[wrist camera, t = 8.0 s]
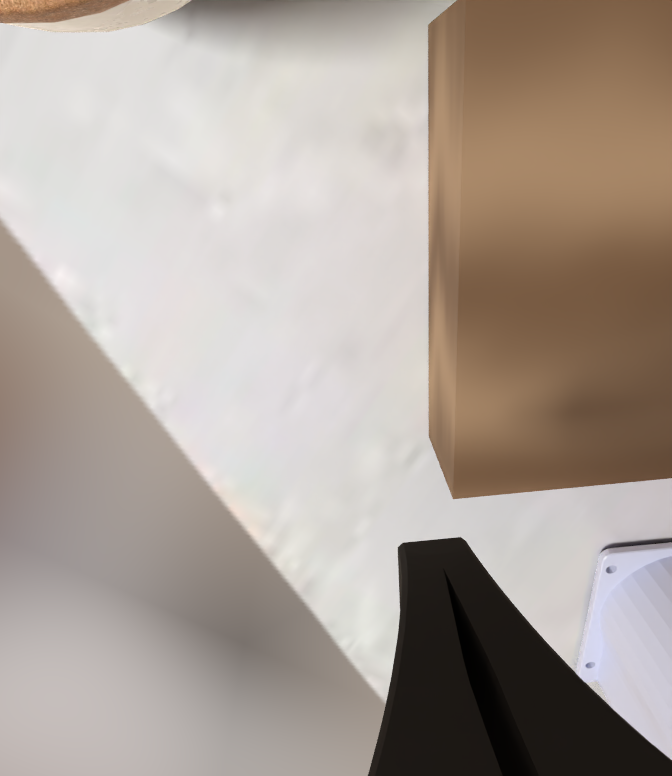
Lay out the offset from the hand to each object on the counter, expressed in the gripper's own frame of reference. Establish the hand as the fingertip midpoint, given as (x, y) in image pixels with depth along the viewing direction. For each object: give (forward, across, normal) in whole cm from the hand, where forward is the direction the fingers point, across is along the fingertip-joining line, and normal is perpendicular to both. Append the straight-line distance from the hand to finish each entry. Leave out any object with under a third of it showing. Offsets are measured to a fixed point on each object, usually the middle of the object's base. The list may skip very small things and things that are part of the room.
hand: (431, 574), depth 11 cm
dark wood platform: (+10, -10, -4) cm, 14 cm away
